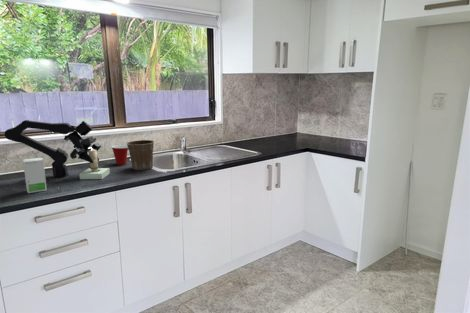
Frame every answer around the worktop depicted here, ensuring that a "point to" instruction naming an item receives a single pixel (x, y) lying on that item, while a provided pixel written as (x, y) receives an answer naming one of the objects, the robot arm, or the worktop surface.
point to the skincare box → (34, 175)
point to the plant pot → (141, 154)
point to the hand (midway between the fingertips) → (95, 161)
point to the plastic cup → (120, 154)
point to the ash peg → (95, 162)
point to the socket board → (95, 173)
